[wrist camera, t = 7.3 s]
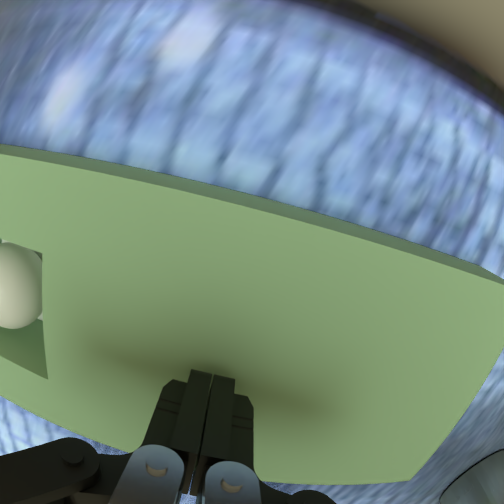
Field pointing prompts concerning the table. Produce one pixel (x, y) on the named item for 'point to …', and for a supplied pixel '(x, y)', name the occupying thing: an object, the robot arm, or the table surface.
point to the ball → (19, 286)
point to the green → (240, 318)
